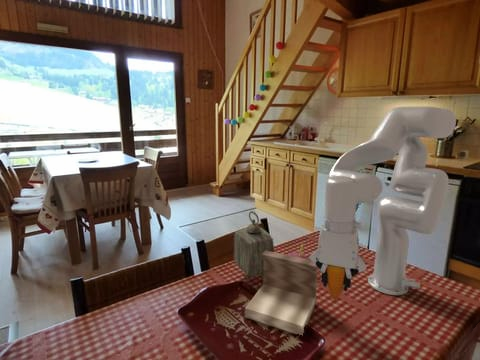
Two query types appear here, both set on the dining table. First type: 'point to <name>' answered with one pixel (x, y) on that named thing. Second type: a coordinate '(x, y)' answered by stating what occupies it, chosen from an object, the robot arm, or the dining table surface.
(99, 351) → the dining table surface
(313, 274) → the shelf
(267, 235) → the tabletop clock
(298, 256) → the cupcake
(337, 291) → the carrot
